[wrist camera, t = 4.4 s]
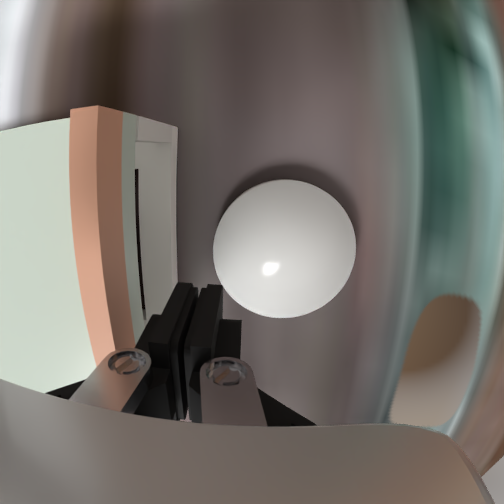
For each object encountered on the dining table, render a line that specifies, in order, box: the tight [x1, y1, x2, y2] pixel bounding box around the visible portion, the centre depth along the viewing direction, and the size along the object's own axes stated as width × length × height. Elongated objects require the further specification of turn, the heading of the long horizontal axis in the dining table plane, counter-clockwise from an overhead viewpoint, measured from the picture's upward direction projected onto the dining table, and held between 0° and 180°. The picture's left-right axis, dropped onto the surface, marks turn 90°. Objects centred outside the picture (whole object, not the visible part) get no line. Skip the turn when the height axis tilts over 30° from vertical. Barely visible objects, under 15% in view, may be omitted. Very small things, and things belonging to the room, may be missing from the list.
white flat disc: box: [213, 179, 356, 318], centre depth 20 cm, size 9×9×1 cm
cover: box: [0, 105, 144, 393], centre depth 11 cm, size 11×15×3 cm
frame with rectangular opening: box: [135, 116, 178, 329], centre depth 17 cm, size 24×15×7 cm, turn 87°
